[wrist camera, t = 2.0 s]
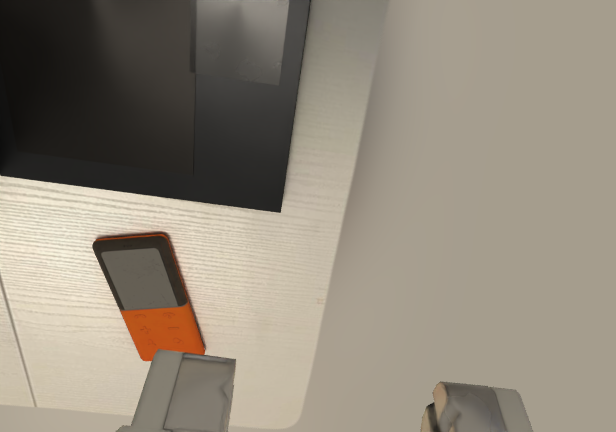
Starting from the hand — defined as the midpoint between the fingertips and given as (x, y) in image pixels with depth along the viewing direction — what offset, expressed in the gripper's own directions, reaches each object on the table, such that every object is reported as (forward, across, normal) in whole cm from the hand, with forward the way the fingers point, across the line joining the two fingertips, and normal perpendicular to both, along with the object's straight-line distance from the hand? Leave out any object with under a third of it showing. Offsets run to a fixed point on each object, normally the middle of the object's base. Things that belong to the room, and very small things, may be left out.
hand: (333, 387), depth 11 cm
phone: (+29, +12, +28) cm, 42 cm away
